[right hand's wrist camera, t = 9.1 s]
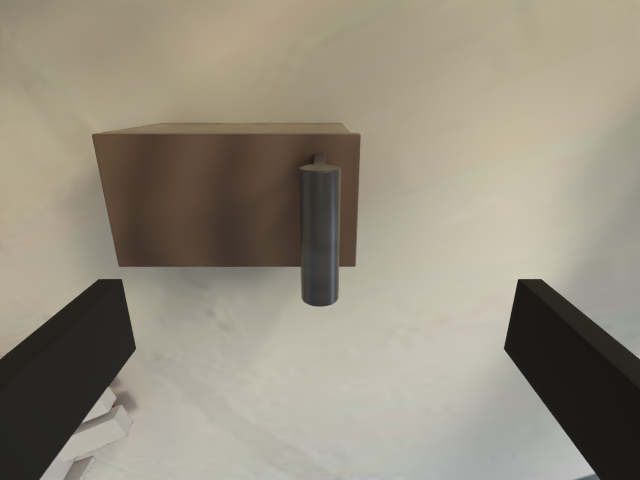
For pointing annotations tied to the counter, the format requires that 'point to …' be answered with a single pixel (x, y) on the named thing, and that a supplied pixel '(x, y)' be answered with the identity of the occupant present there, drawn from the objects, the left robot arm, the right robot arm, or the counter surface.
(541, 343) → the right robot arm
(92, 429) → the toy
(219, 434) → the counter surface
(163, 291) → the counter surface
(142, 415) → the counter surface
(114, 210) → the lid
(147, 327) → the counter surface
